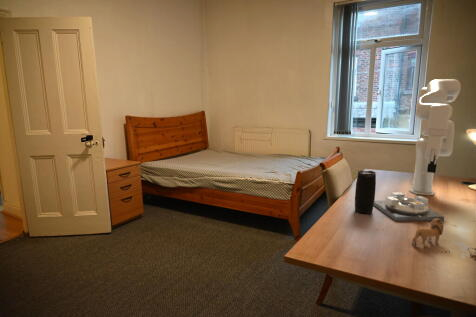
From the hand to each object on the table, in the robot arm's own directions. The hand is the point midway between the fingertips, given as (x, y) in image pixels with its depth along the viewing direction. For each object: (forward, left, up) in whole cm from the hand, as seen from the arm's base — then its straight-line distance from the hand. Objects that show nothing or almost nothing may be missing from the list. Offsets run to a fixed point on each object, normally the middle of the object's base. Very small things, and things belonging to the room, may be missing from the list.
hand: (431, 172), depth 140 cm
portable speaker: (-3, -29, -20) cm, 35 cm away
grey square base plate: (-2, -9, -20) cm, 22 cm away
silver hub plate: (-2, -9, -18) cm, 20 cm away
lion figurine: (+30, -19, -20) cm, 41 cm away
